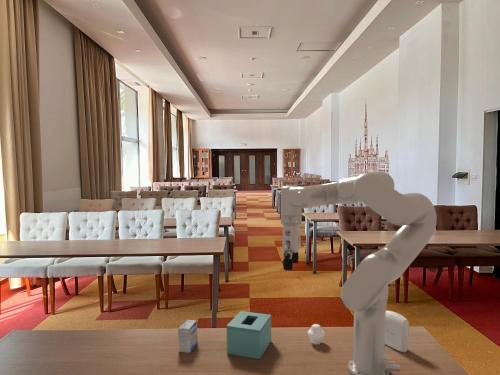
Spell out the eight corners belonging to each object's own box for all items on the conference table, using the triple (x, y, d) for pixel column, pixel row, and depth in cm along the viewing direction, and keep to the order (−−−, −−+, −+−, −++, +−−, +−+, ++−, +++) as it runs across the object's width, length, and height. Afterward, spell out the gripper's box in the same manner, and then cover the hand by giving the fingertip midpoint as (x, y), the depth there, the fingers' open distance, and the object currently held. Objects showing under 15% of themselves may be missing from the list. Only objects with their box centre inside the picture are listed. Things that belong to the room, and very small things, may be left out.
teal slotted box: (271, 341, 148) (271, 314, 147) (259, 359, 135) (259, 330, 134) (240, 336, 152) (240, 310, 151) (226, 353, 138) (226, 325, 138)
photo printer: (410, 350, 140) (411, 316, 139) (402, 353, 138) (403, 318, 137) (386, 339, 149) (387, 306, 148) (378, 342, 147) (379, 309, 146)
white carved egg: (308, 346, 143) (308, 327, 143) (306, 338, 149) (306, 320, 149) (326, 346, 143) (326, 327, 143) (323, 338, 149) (323, 320, 149)
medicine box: (190, 353, 139) (189, 329, 138) (178, 352, 140) (177, 328, 139) (197, 343, 147) (197, 320, 146) (186, 342, 148) (185, 319, 147)
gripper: (296, 224, 135) (296, 273, 136) (306, 216, 151) (305, 261, 152) (274, 222, 137) (274, 271, 138) (286, 215, 153) (286, 259, 155)
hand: (291, 266), depth 145 cm, fingers open, 9 cm apart
